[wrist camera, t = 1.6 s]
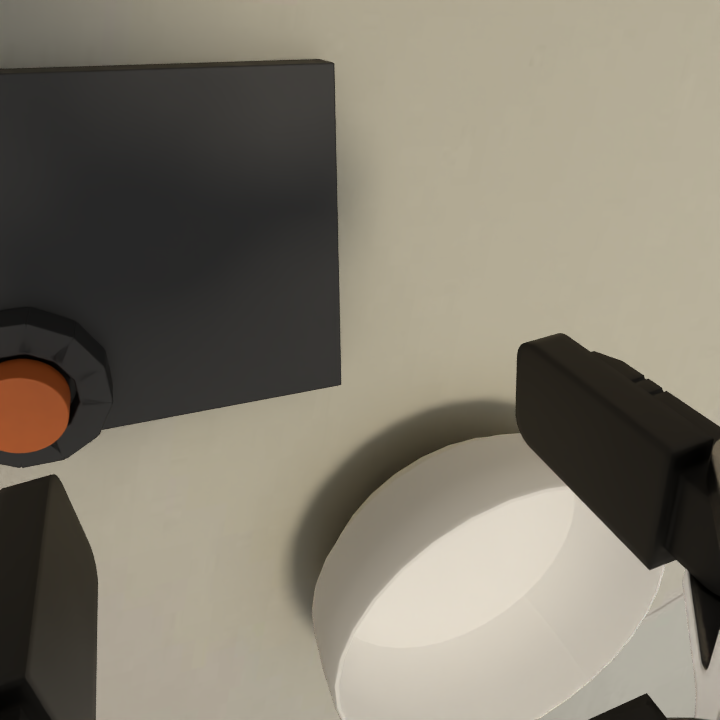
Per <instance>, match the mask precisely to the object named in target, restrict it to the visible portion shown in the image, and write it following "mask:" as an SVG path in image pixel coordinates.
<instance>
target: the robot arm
mask: <svg viewBox="0 0 720 720" xmlns="http://www.w3.org/2000/svg"><path fill="white" fill-rule="evenodd" d="M516 421H517V425H518V428H519V431H520V433H521V435H522V437H523V439H524V441H525V442H526V444H527V445H528V446H529V447H530V448H531V449H532V450H533V451H534V452H535V453H536V454H537V455H538V456H539V457H540V458H541V459H542V460H543V461H544V463H545V464H546V465H547V466H548V467H549V468H550V469H551V470H552V471H553V472H554V473H555V474H556V475H557V476H558V477H559V478H560V479H561V480H562V481H563V482H564V483H565V484H566V485H567V486H568V487H569V488H570V489H571V490H572V491H573V492H574V493H575V494H576V495H577V496H578V497H579V499H580V500H581V501H582V502H583V503H584V504H585V505H586V506H587V507H588V508H589V509H590V510H591V511H592V512H593V513H594V514H595V515H596V516H597V517H598V518H599V519H600V520H601V521H602V522H603V523H604V524H605V525H606V526H607V527H608V528H609V529H610V530H611V531H612V532H613V533H614V534H615V536H616V537H617V538H618V539H619V540H620V541H621V542H622V543H623V544H624V545H625V546H626V547H627V548H628V549H629V550H630V551H631V552H632V553H633V554H634V555H635V556H636V557H637V558H638V559H639V560H640V561H641V562H642V563H643V564H644V565H645V566H646V567H647V568H648V569H649V570H652V569H654V568H657V567H659V566H662V565H664V564H667V563H669V562H672V561H674V560H677V561H678V562H679V563H680V564H681V565H682V566H683V567H685V571H684V575H683V580H682V582H683V593H684V600H685V608H686V616H687V624H688V631H689V639H690V647H691V654H692V662H693V670H694V678H695V688H696V705H695V716H694V718H666V717H665V715H664V714H663V713H662V712H661V710H660V709H659V708H658V707H657V705H656V704H655V703H654V702H653V700H652V699H651V698H650V697H649V695H648V694H647V693H646V694H644V695H642V696H640V697H637V698H635V699H633V700H631V701H629V702H626V703H624V704H622V705H620V706H618V707H615V708H613V709H611V710H609V711H607V712H604V713H602V714H600V715H598V716H596V717H593V718H591V719H589V720H720V427H719V426H718V425H716V424H715V423H713V422H712V421H710V420H709V419H707V418H706V417H704V416H703V415H701V414H700V413H698V412H697V411H696V410H694V409H693V408H691V407H690V406H688V405H687V404H685V403H684V402H682V401H681V400H679V399H678V398H676V397H675V396H673V395H672V394H670V393H669V392H667V391H665V392H663V390H662V388H661V387H660V386H659V385H657V384H656V383H654V382H653V381H651V380H650V379H645V378H644V375H642V374H641V373H639V372H638V371H636V370H635V369H633V368H632V367H630V366H629V365H627V364H626V363H624V362H623V361H621V360H618V359H615V358H612V357H609V356H606V355H604V354H601V353H598V352H595V351H593V352H590V351H588V350H587V349H586V348H584V347H583V346H581V345H580V344H578V343H577V342H576V341H574V340H573V339H571V338H570V337H568V336H567V335H565V334H562V333H558V334H555V335H551V336H547V337H544V338H540V339H537V340H533V341H530V342H526V343H523V344H522V345H521V346H520V347H519V349H518V353H517V377H516ZM97 609H98V577H97V570H96V564H95V560H94V556H93V553H92V549H91V547H90V544H89V542H88V539H87V537H86V535H85V533H84V531H83V528H82V526H81V524H80V522H79V520H78V517H77V515H76V513H75V511H74V509H73V506H72V504H71V502H70V500H69V498H68V495H67V493H66V491H65V489H64V487H63V485H62V483H61V481H60V479H59V478H58V477H57V476H56V475H55V474H52V475H49V476H45V477H42V478H38V479H34V480H31V481H27V482H24V483H20V484H17V485H13V486H10V487H6V488H2V489H1V490H0V720H96V669H97Z"/></svg>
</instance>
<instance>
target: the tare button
mask: <svg viewBox="0 0 720 720" xmlns="http://www.w3.org/2000/svg"><path fill="white" fill-rule="evenodd" d="M70 400H71V393H70V388H69V385H68V383H67V381H66V379H65V378H64V377H63V375H62V374H61V373H60V372H59V371H57V370H56V369H55V368H53V367H51V366H50V365H48V364H46V363H43V362H40V361H37V360H32V359H12V360H7V361H4V362H1V363H0V450H1V451H5V452H10V453H29V452H34V451H38V450H41V449H43V448H46V447H48V446H49V445H51V444H53V443H54V442H55V441H56V440H58V439H59V438H60V437H61V436H62V434H63V433H64V431H65V429H66V428H67V425H68V422H69V413H70Z"/></svg>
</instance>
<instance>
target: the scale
mask: <svg viewBox="0 0 720 720" xmlns="http://www.w3.org/2000/svg"><path fill="white" fill-rule="evenodd" d="M12 359H32V360H37V361H40V362H43V363H46V364H48V365H50V366H51V367H53V368H55V369H56V370H57V371H59V372H60V373H61V374H62V375H63V377H64V378H65V379H66V381H67V383H68V385H69V388H70V393H71V400H70V413H69V422H68V425H67V428H66V429H65V431H64V433H63V434H62V436H61V437H60V438H59V439H58V440H56V441H55V442H54V443H53V444H51V445H49V446H48V447H46V448H43V449H41V450H38V451H34V452H29V453H10V452H5V451H1V450H0V464H2V465H7V466H13V467H18V468H21V467H22V468H25V467H30V466H35V465H40V464H45V463H50V462H55V461H60V460H64V459H65V458H68V457H70V456H71V455H72V454H74V453H75V452H77V451H78V450H79V449H81V448H82V447H84V446H85V445H87V444H88V443H89V442H91V441H92V440H94V439H95V438H96V437H97V436H98V435H99V434H100V432H101V430H104V429H109V428H114V427H120V426H125V425H130V424H136V423H141V422H146V421H152V420H157V419H162V418H168V417H173V416H178V415H184V414H189V413H194V412H199V411H205V410H210V409H215V408H221V407H226V406H231V405H237V404H242V403H247V402H253V401H258V400H263V399H269V398H274V397H279V396H285V395H290V394H295V393H301V392H306V391H311V390H316V389H322V388H327V387H332V386H338V385H341V349H340V303H339V257H338V212H337V166H336V120H335V74H334V63H332V62H328V61H324V60H320V59H310V60H277V61H245V62H212V63H180V64H147V65H114V66H82V67H49V68H17V69H0V363H1V362H4V361H7V360H12Z"/></svg>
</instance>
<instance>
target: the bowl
mask: <svg viewBox="0 0 720 720" xmlns="http://www.w3.org/2000/svg"><path fill="white" fill-rule="evenodd" d="M664 569H665V564H664V565H662V566H659V567H657V568H654V569H652V570H649V569H648V568H647V567H646V566H645V565H644V564H643V563H642V562H641V561H640V560H639V559H638V558H637V557H636V556H635V555H634V554H633V553H632V552H631V551H630V550H629V549H628V548H627V547H626V546H625V545H624V544H623V543H622V542H621V541H620V540H619V539H618V538H617V537H616V536H615V534H614V533H613V532H612V531H611V530H610V529H609V528H608V527H607V526H606V525H605V524H604V523H603V522H602V521H601V520H600V519H599V518H598V517H597V516H596V515H595V514H594V513H593V512H592V511H591V510H590V509H589V508H588V507H587V506H586V505H585V504H584V503H583V502H582V501H581V500H580V499H579V497H578V496H577V495H576V494H575V493H574V492H573V491H572V490H571V489H570V488H569V487H568V486H567V485H566V484H565V483H564V482H563V481H562V480H561V479H560V478H559V477H558V476H557V475H556V474H555V473H554V472H553V471H552V470H551V469H550V468H549V467H548V466H547V465H546V464H545V463H544V461H543V460H542V459H541V458H540V457H539V456H538V455H537V454H536V453H535V452H534V451H533V450H532V449H531V448H530V447H529V446H528V445H527V444H526V442H525V441H524V439H523V437H522V435H521V433H515V434H504V435H494V436H490V437H481V438H474V439H470V440H466V441H463V442H459V443H455V444H451V445H448V446H446V447H443V448H441V449H439V450H437V451H434V452H432V453H430V454H428V455H425V456H423V457H421V458H419V459H418V460H416V461H415V462H413V463H411V464H410V465H408V466H407V467H405V468H403V469H402V470H400V471H399V472H397V473H395V474H394V475H393V476H392V477H391V478H389V479H388V480H387V481H386V482H385V483H384V484H382V485H381V486H380V487H379V488H378V489H376V490H375V491H374V492H373V493H372V494H371V495H370V496H369V497H368V498H367V499H366V501H365V502H364V503H363V504H362V505H361V506H360V507H359V509H358V510H357V511H356V512H355V513H354V514H353V516H352V517H351V519H350V520H349V522H348V523H347V525H346V527H345V528H344V530H343V531H342V533H341V535H340V536H339V538H338V540H337V542H336V543H335V545H334V547H333V548H332V550H331V551H330V553H329V555H328V556H327V558H326V560H325V563H324V565H323V568H322V570H321V573H320V575H319V578H318V580H317V583H316V586H315V592H314V599H313V606H312V617H313V625H314V633H315V638H316V642H317V646H318V650H319V654H320V659H321V663H322V667H323V671H324V674H325V677H326V680H327V683H328V687H329V690H330V693H331V696H332V700H333V703H334V706H335V709H336V711H337V713H338V715H339V717H340V719H341V720H537V719H539V718H540V717H542V716H544V715H545V714H547V713H548V712H550V711H551V710H553V709H554V708H556V707H557V706H559V705H560V704H562V703H563V702H565V701H566V700H568V699H569V698H570V697H571V696H573V695H574V694H575V693H576V692H578V691H579V690H580V689H581V688H583V687H584V686H585V685H586V684H588V683H589V682H590V681H591V680H592V679H593V678H594V677H595V676H596V675H597V674H599V673H600V672H601V671H602V670H603V669H604V668H605V667H606V666H607V665H608V664H609V663H610V662H611V661H612V660H613V659H614V658H615V656H616V655H617V654H618V653H619V652H620V651H621V649H622V648H623V647H624V646H625V645H626V643H627V642H628V641H629V640H630V639H631V637H632V636H633V635H634V633H635V631H636V630H637V628H638V627H639V625H640V624H641V622H642V621H643V619H644V618H645V616H646V615H647V613H648V611H649V609H650V607H651V605H652V603H653V601H654V598H655V596H656V594H657V592H658V590H659V587H660V583H661V579H662V576H663V572H664Z"/></svg>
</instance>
